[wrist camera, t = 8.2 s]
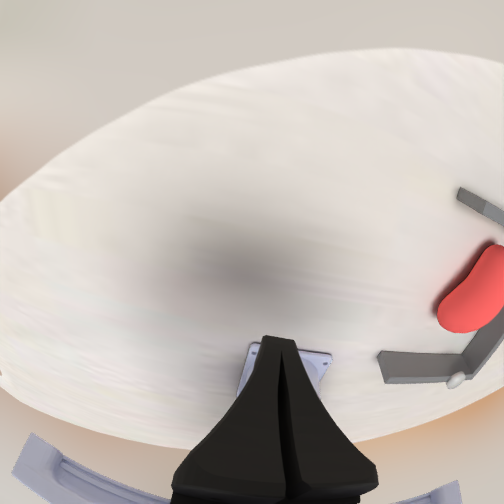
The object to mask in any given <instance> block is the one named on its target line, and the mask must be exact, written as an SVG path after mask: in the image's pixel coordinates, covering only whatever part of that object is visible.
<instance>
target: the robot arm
mask: <svg viewBox="0 0 504 504" xmlns="http://www.w3.org/2000/svg"><path fill="white" fill-rule="evenodd" d="M253 351H254V352H253ZM332 360H333V359H332V356H331V355H328V354H320V353H312V352H305V351H298V349H297V346H296V343H295V341H294V340H291V339H285V338H279V337H274V336H268V335H265V336H263V338H262V341H261V344H255V343H254V344H252V345H251V346H250V348H249V352H248V355H247V359H246V363H245V366H244V369H243V373H242V376H241V380H240V383H239V387H238V390H237V394H236V396H237V399H236V400H235V402H234V403H233V405H232V406H231V407H230V409H229V410H228V411H227V413H226V414H225V415H224V417H223V418H222V419H221V420H220V421H219V423H218V424H217V425H216V426H215V427H214V428H213V429H212V431H211V432H210V433H209V434H208V435H207V436H206V437H205V438H204V439H203V440H202V441H201V442H200V443H199V444H198V445H197V446H196V447H195V448H194V449H193V450H191V451H190V453H189V454H188V456H187V457H186V458H185V459H184V461H183V462H182V464H180V466H179V467H178V468H177V470H176V471H175V473H174V476H173V481H172V484H171V486H172V489H173V494H172V498H171V500H170V499H166V498H163V497H159V496H156V495H153V494H150V493H147V492H144V491H141V490H138V489H135V488H133V487H129V486H127V485H125V484H122V483H120V482H117V481H115V480H112V479H110V478H108V477H106V476H103V475H101V474H99V473H97V472H95V471H93V470H91V469H89V468H87V467H85V466H83V465H81V464H79V463H77V462H75V461H73V460H72V459H70V458H68V457H66V456H65V455H63V454H62V453H61V452H60V451H59V450H58V449H56V448H55V447H54V446H52V445H51V444H49V443H48V442H46V441H45V440H43V439H42V438H40V437H39V436H37V435H36V434H34V433H31V434H30V436H29V438H28V439H27V441H26V444H25V446H24V447H23V449H22V452H21V453H20V456H19V458H18V460H17V462H16V464H15V466H14V469H13V471H12V475H13V476H14V477H15V478H16V479H18V480H19V481H20V482H21V483H23V484H24V485H25V486H27V487H28V488H29V489H31V490H32V491H33V492H35V493H36V494H37V495H39V496H40V497H42V498H43V499H44V500H46V501H47V502H49V503H50V504H357V503H360V495H362V494H365V493H367V492H369V491H371V490H373V489H375V488H376V487H377V486H378V485H379V483H378V475H377V470H376V466H375V464H373V463H372V462H371V461H370V460H369V459H368V458H367V457H365V456H364V455H363V454H362V453H361V452H360V451H359V450H358V449H357V448H356V447H355V446H354V445H353V444H352V443H351V442H350V441H349V439H348V438H347V437H346V436H345V435H344V433H343V432H342V431H341V430H340V428H339V427H338V426H337V425H336V423H335V422H334V420H333V419H332V418H331V416H330V415H329V413H328V412H327V410H326V409H325V407H324V405H323V404H322V402H321V398H320V387H319V382H320V380H321V378H322V377H323V375H324V374H325V372H326V370H327V369H328V367H329V365H330V364H331V362H332ZM392 504H462V500H461V493H460V489H459V484H458V480H456V481H453V482H451V483H448V484H446V485H443V486H441V487H439V488H437V489H435V490H433V491H431V492H429V493H427V494H423V495H420V496H417V497H414V498H411V499H407V500H403V501H400V502H396V503H392Z"/></svg>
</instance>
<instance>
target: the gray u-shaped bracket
mask: <svg viewBox="0 0 504 504" xmlns="http://www.w3.org/2000/svg"><path fill="white" fill-rule="evenodd" d="M457 199H458V200H459V201H461V202H463V203H464V204H466V205H468V206H469V207H471V208H473V209H474V210H476V211H477V212H479V213H481V214H482V215H484V216H486V217H488V218H490V219H492V220H493V221H495V222H497V223H499V224H501V225H502V226H504V211H502V210H501V209H499V208H497V207H496V206H494V205H492V204H491V203H489V202H487V201H485V200H484V199H482V198H480V197H478V196H476V195H474V194H472V193H471V192H469V191H467V190H465V189H463V188H461V187H460V190H459V193H458V196H457ZM503 339H504V306H503V307H502V309H501V310H500V312H499V313H498V314H497V315H496V316H495V317H494V318H493V319H492V320H491V321H490V322H489V323H488V324H486V325H484V326H483V327H481V328H480V329H479V331H478V332H477V334H476V335H475V337H474V338H473V340H472V341H471V342H470V344H469V345H468V346H467V348H466V349H465V350H464V352H463V353H462V354H425V353H405V352H390V351H381V352H380V354H379V355H378V357H377V359H378V362H379V365H380V369H381V372H382V376H383V379H384V382H385V384H416V383H438V382H446V385H447V387H448V389H453V388H455V387H457V386H459V385H460V384H461V383H462V382H463V381H464V380H471V379H473V377H474V376H475V375H476V374H477V373H478V372H479V371H480V369H481V368H482V367H483V366H484V364H485V363H486V362H487V361H488V360H489V358H490V357H491V356H492V354H493V353H494V352H495V350H496V349H497V348H498V346H499V345H500V344H501V342H502V341H503Z"/></svg>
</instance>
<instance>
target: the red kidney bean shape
mask: <svg viewBox="0 0 504 504" xmlns="http://www.w3.org/2000/svg"><path fill="white" fill-rule="evenodd" d="M503 306H504V247H503V246H501V245H498V244H497V245H491V246H489V247H488V248H487V249H485V251H484V252H483V253H482V255H481V256H480V258H479V260H478V261H477V263H476V264H475V266H474V267H473V269H472V271H471V272H470V274H469V275H468V277H467V278H466V279H465V280H464V281H463V282H462V283H461V284H459V285H458V286H457V287H456V288H455V289H454V290H453V291H452V292H451V293H449V294H448V295H447V296H446V297H445V298H444V299H443V300H442V302H441V303H440V305H439V308H438V312H437V317H438V322H439V324H440V325H441V326H442V327H443V328H444V329H446V330H448V331H451V332H454V333H468V332H472V331H475V330H478V329H479V328H481V327H483V326H484V325H486V324H488V323H489V322H490V321H491V320H492V319H493V318H494V317H495V316H496V315H497V314H498V313H499V312H500V310H501V309H502V307H503Z"/></svg>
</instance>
